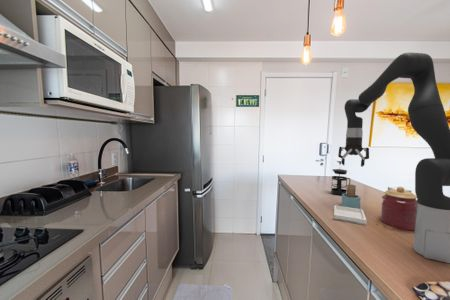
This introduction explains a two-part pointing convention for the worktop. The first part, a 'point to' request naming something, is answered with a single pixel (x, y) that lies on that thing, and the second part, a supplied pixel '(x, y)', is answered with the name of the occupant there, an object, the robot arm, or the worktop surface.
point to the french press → (339, 182)
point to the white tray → (349, 215)
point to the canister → (399, 209)
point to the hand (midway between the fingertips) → (352, 165)
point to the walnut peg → (351, 191)
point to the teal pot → (351, 201)
